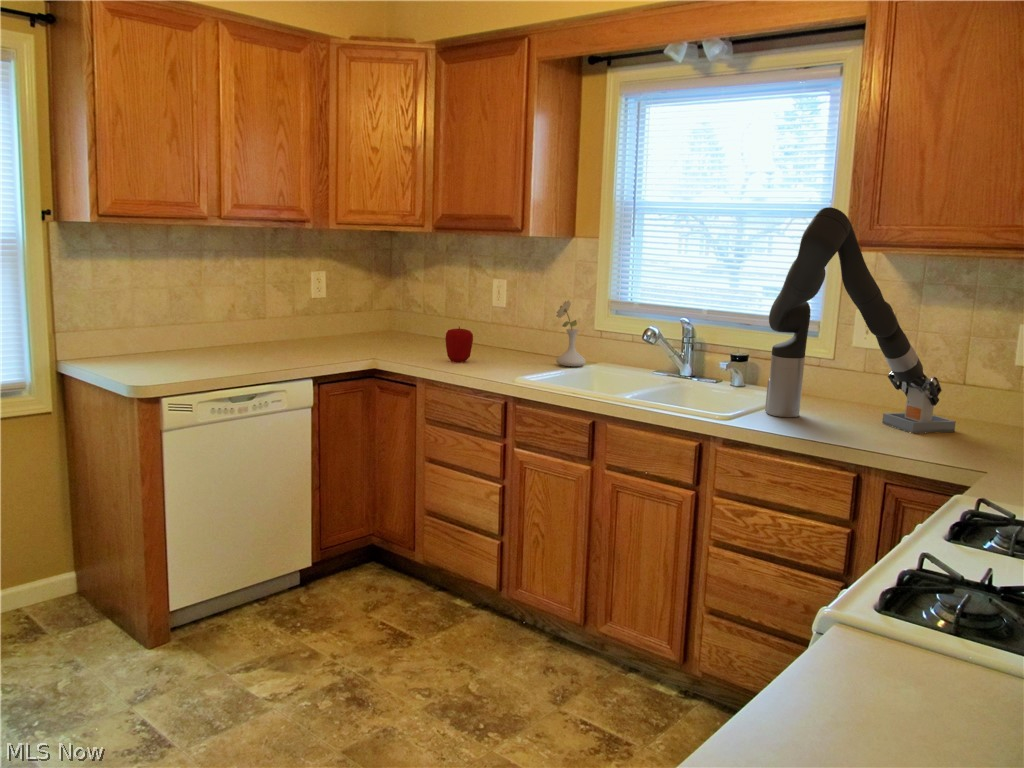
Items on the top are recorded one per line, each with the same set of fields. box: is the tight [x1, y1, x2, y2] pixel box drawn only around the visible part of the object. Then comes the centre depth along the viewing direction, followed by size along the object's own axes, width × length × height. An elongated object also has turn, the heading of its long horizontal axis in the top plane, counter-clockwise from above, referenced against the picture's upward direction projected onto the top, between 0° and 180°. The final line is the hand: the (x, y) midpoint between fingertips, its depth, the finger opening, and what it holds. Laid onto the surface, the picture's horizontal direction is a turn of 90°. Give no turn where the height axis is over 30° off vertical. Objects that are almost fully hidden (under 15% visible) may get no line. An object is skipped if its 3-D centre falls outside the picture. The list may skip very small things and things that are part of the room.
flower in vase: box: [555, 299, 587, 368], centre depth 330 cm, size 13×11×25 cm
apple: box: [445, 325, 474, 364], centre depth 332 cm, size 11×10×14 cm
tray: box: [881, 412, 956, 434], centre depth 245 cm, size 12×14×3 cm
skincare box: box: [904, 377, 934, 422], centre depth 244 cm, size 6×4×12 cm
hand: (924, 400), depth 245 cm, fingers closed on skincare box, 6 cm apart
